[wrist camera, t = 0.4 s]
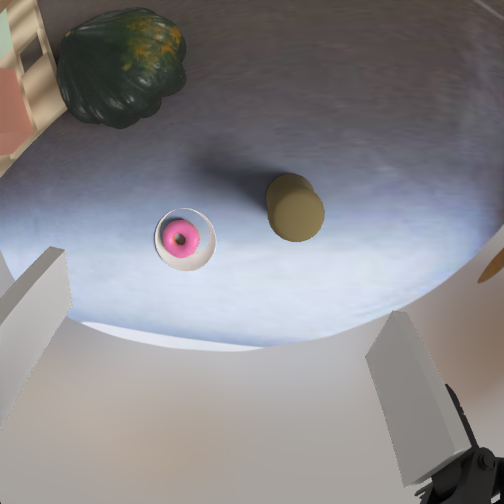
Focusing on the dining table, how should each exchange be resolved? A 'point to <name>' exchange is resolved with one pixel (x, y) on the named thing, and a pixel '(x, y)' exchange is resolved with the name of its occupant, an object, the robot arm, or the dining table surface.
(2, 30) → the pad
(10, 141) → the brick
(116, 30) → the squash
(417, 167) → the dining table surface
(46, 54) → the board
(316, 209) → the cork
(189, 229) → the donut
